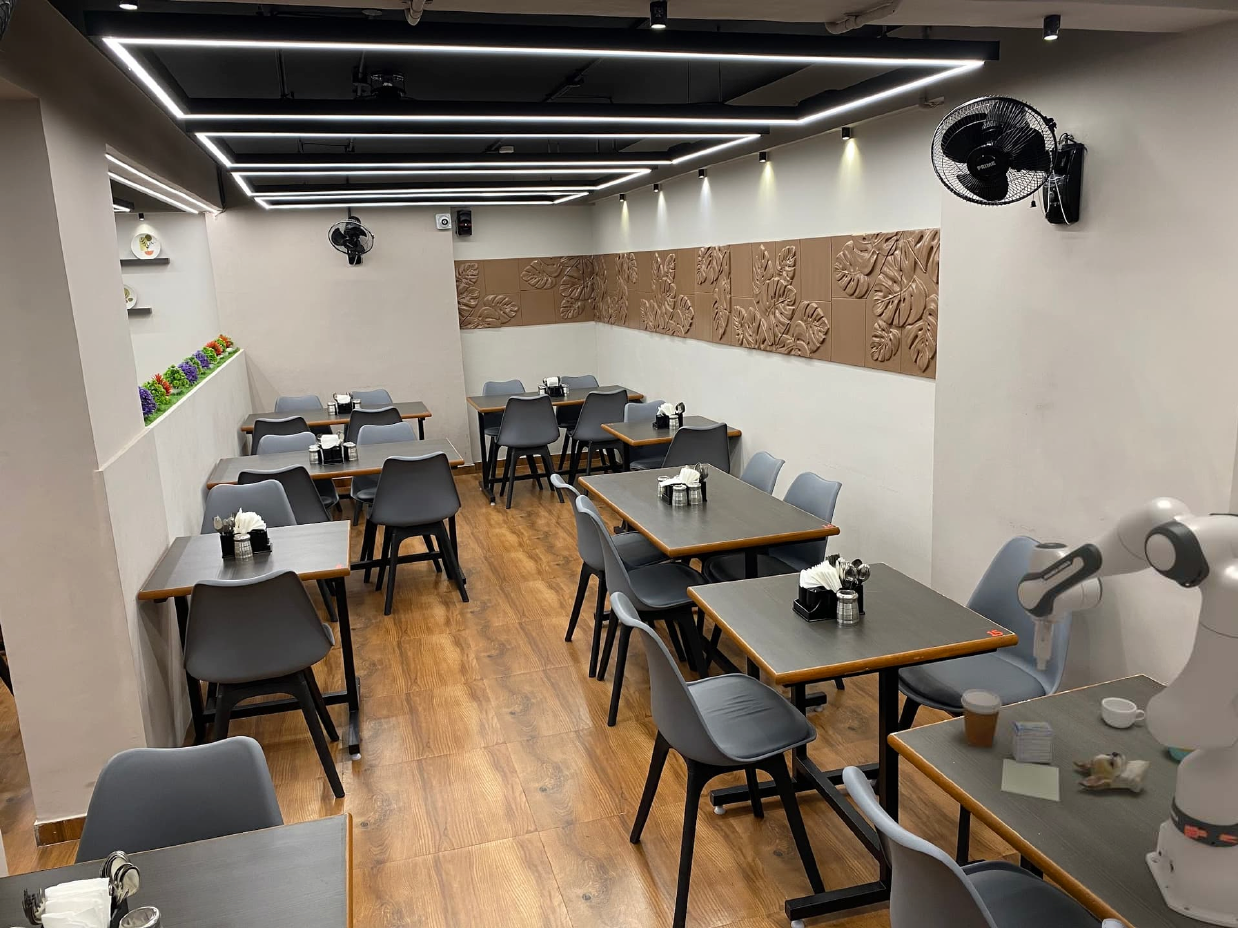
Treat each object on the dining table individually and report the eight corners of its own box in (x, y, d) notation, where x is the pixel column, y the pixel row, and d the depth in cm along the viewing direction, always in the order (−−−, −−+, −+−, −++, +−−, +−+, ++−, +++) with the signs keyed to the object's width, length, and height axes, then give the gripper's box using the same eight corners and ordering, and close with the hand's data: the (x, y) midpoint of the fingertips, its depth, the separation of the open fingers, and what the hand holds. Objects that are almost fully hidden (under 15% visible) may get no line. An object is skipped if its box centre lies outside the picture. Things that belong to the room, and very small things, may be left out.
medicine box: (1044, 754, 219) (1046, 721, 217) (1051, 763, 215) (1053, 730, 213) (1011, 753, 220) (1012, 720, 218) (1017, 762, 215) (1019, 729, 214)
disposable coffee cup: (983, 754, 220) (985, 710, 217) (951, 738, 228) (952, 695, 225) (1008, 743, 225) (1010, 699, 222) (976, 727, 233) (978, 684, 230)
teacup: (1102, 729, 229) (1104, 709, 228) (1098, 714, 236) (1099, 695, 235) (1147, 734, 226) (1149, 714, 224) (1141, 719, 233) (1143, 700, 231)
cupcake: (1177, 743, 221) (1181, 699, 218) (1212, 760, 213) (1217, 714, 211) (1154, 753, 217) (1158, 708, 215) (1188, 770, 210) (1193, 723, 207)
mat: (1059, 801, 200) (1059, 800, 200) (1000, 790, 206) (1001, 789, 205) (1058, 769, 213) (1058, 767, 213) (1003, 759, 218) (1003, 758, 218)
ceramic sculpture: (1154, 767, 196) (1078, 761, 202) (1154, 803, 198) (1078, 796, 203) (1144, 743, 206) (1072, 738, 211) (1144, 777, 208) (1072, 771, 213)
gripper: (1059, 626, 204) (1054, 681, 207) (1062, 593, 222) (1058, 644, 225) (1028, 622, 207) (1025, 676, 210) (1034, 590, 224) (1030, 640, 228)
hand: (1042, 659), depth 218 cm, fingers open, 8 cm apart
